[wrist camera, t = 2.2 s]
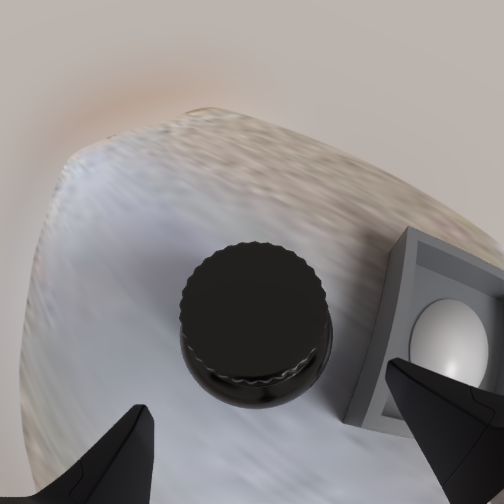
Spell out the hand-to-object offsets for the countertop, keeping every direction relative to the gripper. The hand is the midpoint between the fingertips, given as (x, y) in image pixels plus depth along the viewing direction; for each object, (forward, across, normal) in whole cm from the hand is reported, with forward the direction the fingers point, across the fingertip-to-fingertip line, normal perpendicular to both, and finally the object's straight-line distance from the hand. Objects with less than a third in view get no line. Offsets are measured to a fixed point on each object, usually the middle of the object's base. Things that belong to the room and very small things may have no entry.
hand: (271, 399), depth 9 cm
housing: (+6, -15, +8) cm, 18 cm away
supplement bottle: (+9, 0, +5) cm, 11 cm away
